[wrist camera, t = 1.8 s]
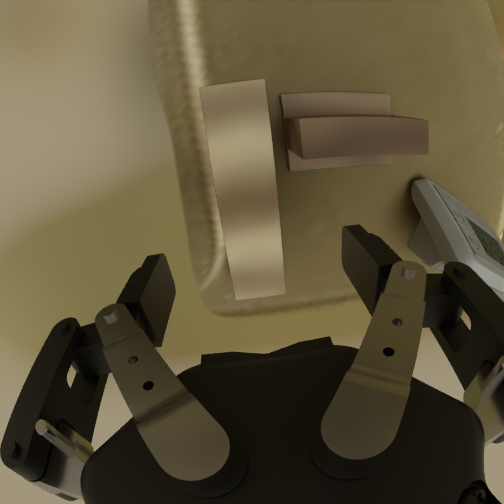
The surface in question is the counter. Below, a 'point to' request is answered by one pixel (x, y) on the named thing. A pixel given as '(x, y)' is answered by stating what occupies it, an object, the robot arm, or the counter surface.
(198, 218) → the counter surface
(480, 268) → the digital clock
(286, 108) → the walnut ridge
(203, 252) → the counter surface
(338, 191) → the counter surface
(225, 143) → the beige long bar
